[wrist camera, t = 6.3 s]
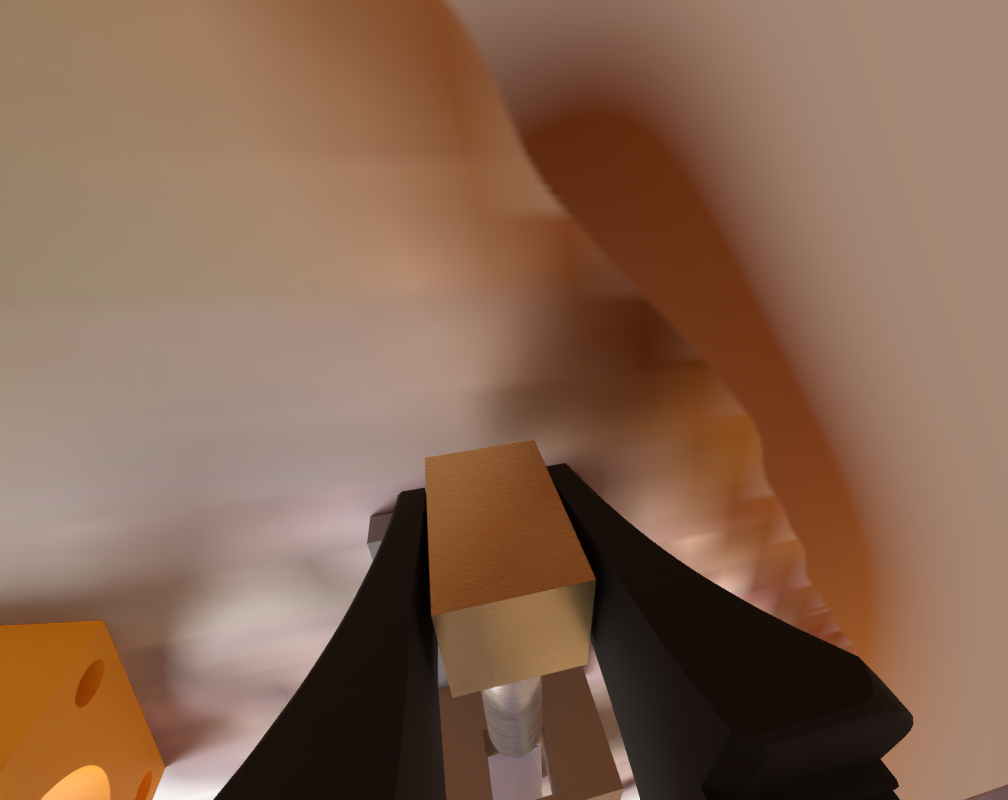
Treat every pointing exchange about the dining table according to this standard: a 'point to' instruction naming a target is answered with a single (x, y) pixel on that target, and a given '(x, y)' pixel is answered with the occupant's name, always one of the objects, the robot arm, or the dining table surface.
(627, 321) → the dining table surface
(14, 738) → the pipe clamp
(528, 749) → the pin
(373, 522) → the eye block
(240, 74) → the dining table surface
